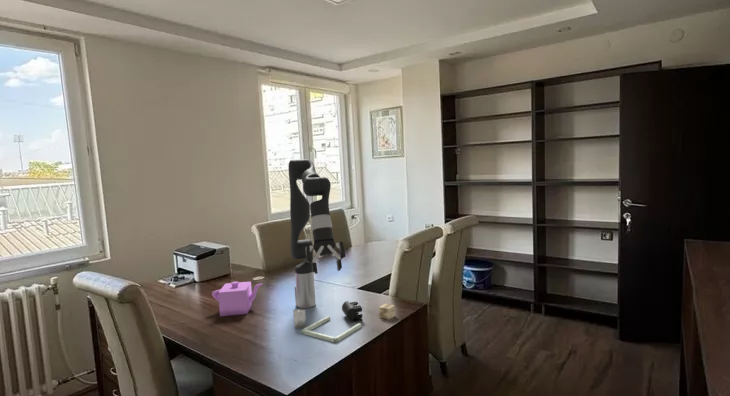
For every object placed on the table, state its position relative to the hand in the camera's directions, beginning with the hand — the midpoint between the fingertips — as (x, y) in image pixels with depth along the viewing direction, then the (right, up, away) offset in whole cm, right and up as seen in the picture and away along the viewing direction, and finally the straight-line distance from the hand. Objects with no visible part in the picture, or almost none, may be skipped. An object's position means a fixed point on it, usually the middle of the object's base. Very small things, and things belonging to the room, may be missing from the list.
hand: (327, 272), depth 145 cm
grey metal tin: (-15, -29, +29) cm, 44 cm away
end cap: (+8, -28, +35) cm, 46 cm away
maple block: (+24, -27, +35) cm, 50 cm away
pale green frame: (0, -29, +24) cm, 38 cm away
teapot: (-49, -29, +55) cm, 79 cm away
